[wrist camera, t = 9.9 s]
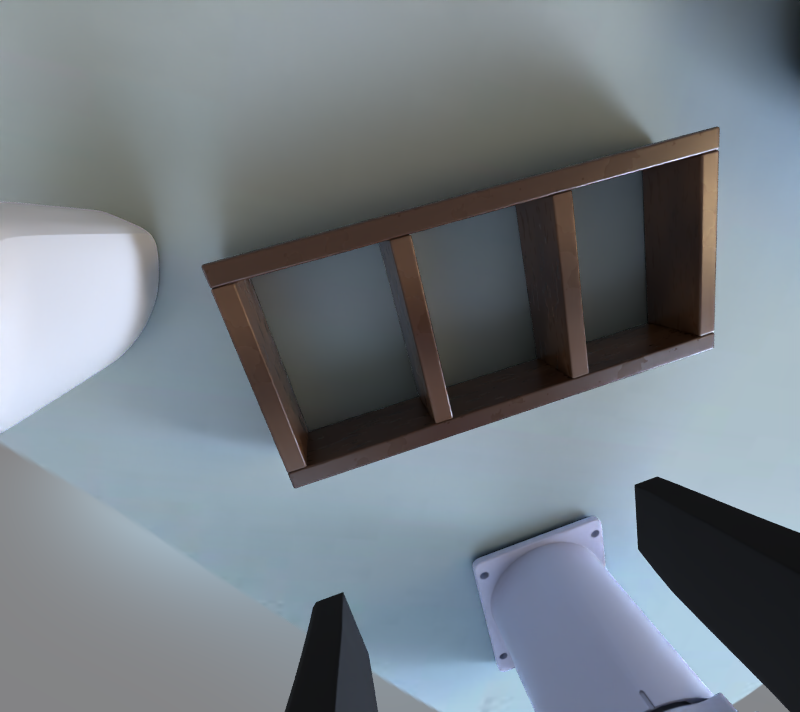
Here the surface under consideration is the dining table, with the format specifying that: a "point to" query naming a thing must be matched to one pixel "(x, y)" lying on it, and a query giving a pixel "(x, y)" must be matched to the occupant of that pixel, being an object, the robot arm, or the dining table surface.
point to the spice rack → (547, 291)
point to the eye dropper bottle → (67, 299)
